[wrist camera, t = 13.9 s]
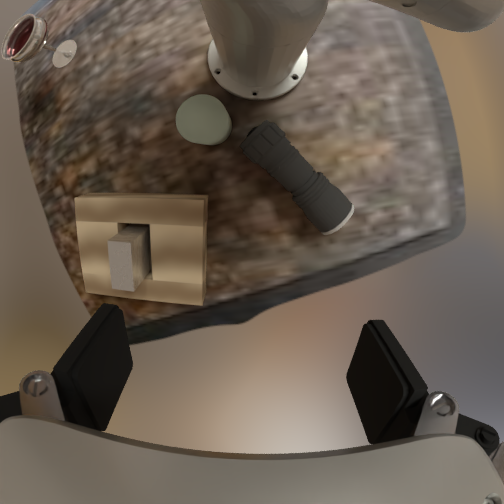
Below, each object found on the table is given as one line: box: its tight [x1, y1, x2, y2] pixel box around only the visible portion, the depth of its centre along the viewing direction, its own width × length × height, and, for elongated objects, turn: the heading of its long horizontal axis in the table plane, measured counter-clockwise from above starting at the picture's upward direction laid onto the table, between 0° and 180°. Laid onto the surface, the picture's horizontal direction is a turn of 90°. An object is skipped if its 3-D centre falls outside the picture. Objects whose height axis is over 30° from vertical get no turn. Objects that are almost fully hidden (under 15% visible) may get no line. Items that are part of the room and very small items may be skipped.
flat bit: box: [107, 223, 152, 292], centre depth 34 cm, size 6×3×9 cm, turn 175°
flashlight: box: [240, 120, 354, 235], centre depth 33 cm, size 15×5×5 cm, turn 46°
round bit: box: [176, 94, 232, 145], centre depth 29 cm, size 5×5×9 cm
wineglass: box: [1, 14, 77, 68], centre depth 22 cm, size 7×7×12 cm
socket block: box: [75, 193, 208, 305], centre depth 36 cm, size 14×18×4 cm
